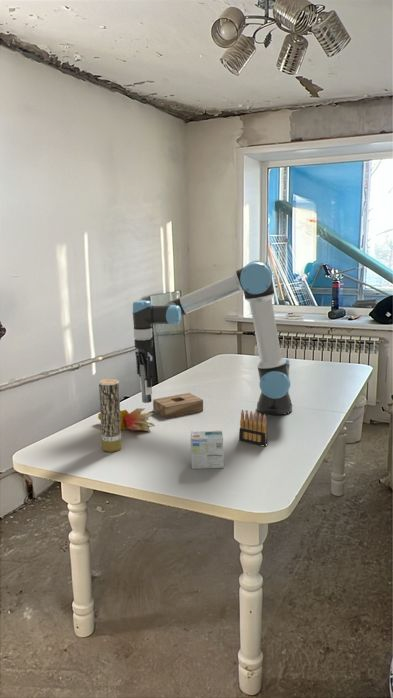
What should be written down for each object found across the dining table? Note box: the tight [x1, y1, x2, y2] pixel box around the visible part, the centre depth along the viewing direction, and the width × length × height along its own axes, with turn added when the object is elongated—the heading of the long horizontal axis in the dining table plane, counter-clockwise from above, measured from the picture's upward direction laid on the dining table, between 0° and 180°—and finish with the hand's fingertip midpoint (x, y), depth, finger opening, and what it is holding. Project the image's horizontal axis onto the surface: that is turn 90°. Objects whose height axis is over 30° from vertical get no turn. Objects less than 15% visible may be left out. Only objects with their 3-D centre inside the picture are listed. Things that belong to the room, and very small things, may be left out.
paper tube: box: [98, 378, 122, 453], centre depth 185 cm, size 7×7×25 cm
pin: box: [140, 364, 153, 404], centre depth 220 cm, size 4×4×16 cm
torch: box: [97, 408, 156, 433], centre depth 207 cm, size 8×8×25 cm
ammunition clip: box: [238, 409, 268, 447], centre depth 191 cm, size 11×2×12 cm, turn 58°
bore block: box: [152, 392, 204, 419], centre depth 227 cm, size 12×18×5 cm, turn 121°
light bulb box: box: [190, 430, 225, 470], centre depth 173 cm, size 11×7×11 cm, turn 92°
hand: (146, 392), depth 221 cm, fingers closed on pin, 4 cm apart
